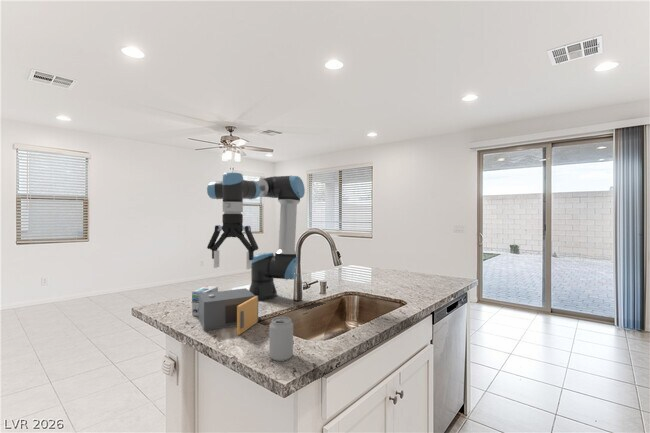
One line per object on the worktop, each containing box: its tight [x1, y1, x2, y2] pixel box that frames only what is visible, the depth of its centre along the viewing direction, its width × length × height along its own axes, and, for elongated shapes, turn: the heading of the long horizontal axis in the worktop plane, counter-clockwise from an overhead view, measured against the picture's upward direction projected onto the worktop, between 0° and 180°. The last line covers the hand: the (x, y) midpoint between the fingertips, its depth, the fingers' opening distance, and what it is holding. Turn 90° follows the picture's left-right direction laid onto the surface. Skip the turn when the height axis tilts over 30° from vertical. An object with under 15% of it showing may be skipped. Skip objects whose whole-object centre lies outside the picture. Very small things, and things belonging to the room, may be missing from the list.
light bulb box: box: [191, 285, 219, 317], centre depth 142 cm, size 11×7×11 cm, turn 168°
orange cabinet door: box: [236, 296, 259, 335], centre depth 123 cm, size 15×2×10 cm, turn 165°
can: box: [268, 316, 294, 362], centre depth 100 cm, size 8×8×12 cm
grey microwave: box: [198, 288, 255, 332], centre depth 132 cm, size 21×14×12 cm
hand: (232, 268), depth 122 cm, fingers open, 13 cm apart
